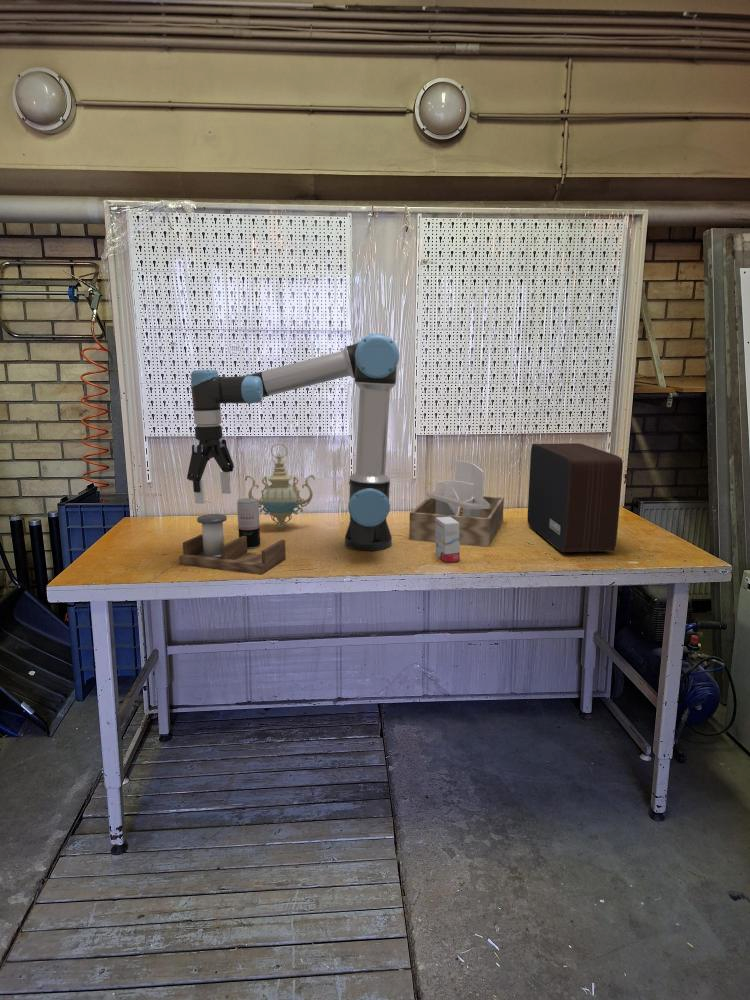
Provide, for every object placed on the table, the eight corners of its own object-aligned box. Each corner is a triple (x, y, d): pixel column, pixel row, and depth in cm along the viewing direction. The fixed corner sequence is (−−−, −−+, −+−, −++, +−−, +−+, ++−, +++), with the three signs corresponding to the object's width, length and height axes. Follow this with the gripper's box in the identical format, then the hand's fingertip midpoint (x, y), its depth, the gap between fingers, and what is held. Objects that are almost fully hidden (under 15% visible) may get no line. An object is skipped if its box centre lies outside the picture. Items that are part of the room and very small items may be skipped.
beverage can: (243, 542, 201) (240, 497, 198) (262, 543, 201) (260, 498, 197) (236, 548, 195) (234, 502, 192) (256, 549, 194) (254, 502, 191)
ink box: (460, 562, 182) (461, 522, 179) (443, 563, 181) (444, 524, 178) (449, 553, 190) (450, 515, 187) (434, 554, 189) (434, 516, 186)
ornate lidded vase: (244, 533, 212) (240, 446, 206) (250, 524, 223) (246, 441, 217) (314, 532, 213) (312, 445, 206) (317, 524, 224) (315, 441, 217)
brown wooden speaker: (621, 556, 187) (629, 457, 181) (563, 557, 186) (570, 458, 179) (575, 525, 222) (581, 441, 216) (526, 526, 221) (530, 442, 215)
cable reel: (234, 553, 188) (232, 515, 185) (218, 561, 180) (216, 522, 177) (210, 550, 190) (207, 513, 188) (193, 558, 183) (191, 519, 180)
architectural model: (413, 527, 222) (413, 462, 217) (459, 519, 233) (461, 457, 227) (463, 546, 198) (465, 474, 193) (512, 536, 209) (515, 468, 204)
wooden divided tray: (285, 559, 184) (285, 539, 183) (262, 574, 172) (261, 553, 170) (207, 550, 193) (206, 532, 192) (179, 564, 180) (178, 544, 179)
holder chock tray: (502, 521, 227) (503, 497, 225) (488, 546, 196) (489, 519, 195) (433, 516, 235) (433, 492, 233) (409, 539, 205) (409, 512, 203)
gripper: (220, 420, 189) (225, 489, 194) (169, 429, 166) (176, 506, 171) (242, 421, 187) (246, 490, 191) (193, 430, 164) (199, 508, 168)
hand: (213, 498), depth 181 cm, fingers open, 13 cm apart
